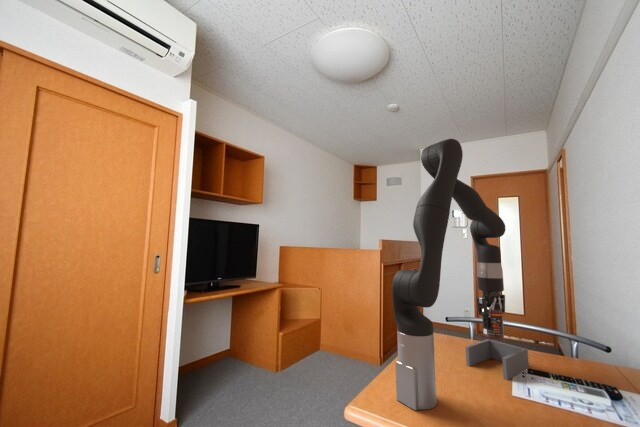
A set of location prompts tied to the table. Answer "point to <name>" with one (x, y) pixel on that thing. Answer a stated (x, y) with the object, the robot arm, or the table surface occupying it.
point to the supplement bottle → (495, 324)
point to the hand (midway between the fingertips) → (493, 327)
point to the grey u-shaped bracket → (499, 356)
